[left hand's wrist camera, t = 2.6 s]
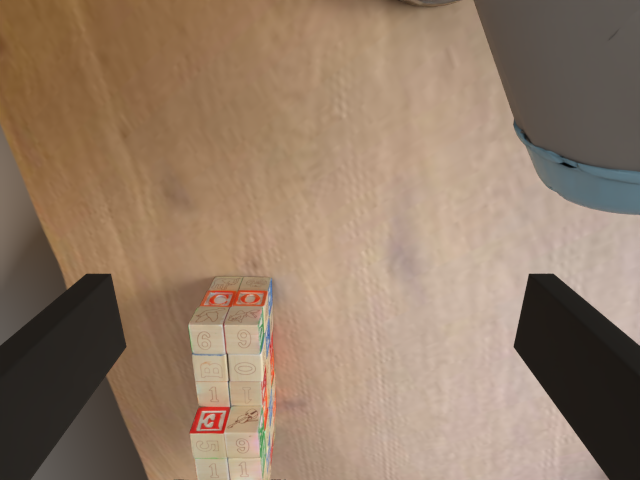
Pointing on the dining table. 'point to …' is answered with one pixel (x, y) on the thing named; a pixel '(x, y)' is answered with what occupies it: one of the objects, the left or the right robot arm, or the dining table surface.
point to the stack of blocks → (234, 380)
